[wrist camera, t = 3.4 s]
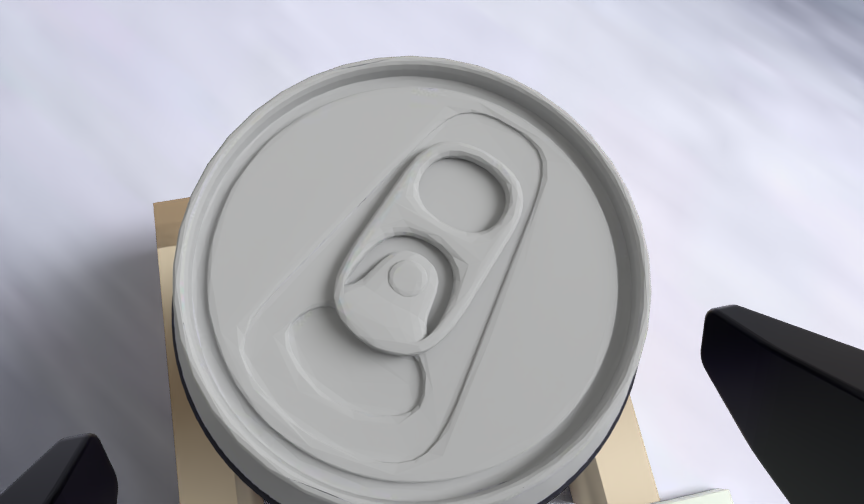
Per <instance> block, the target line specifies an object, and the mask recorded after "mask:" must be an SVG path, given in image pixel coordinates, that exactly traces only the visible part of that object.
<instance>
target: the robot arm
mask: <svg viewBox="0 0 864 504" xmlns="http://www.w3.org/2000/svg"><path fill="white" fill-rule="evenodd" d="M701 360H702V363H703V366H704V368H705V370H706V372H707V374H708V375H709V377H710V379H711V381H712V382H713V384H714V386H715V387H716V389H717V391H718V393H719V394H720V396H721V398H722V400H723V401H724V403H725V405H726V407H727V408H728V410H729V412H730V414H731V415H732V417H733V419H734V421H735V422H736V424H737V426H738V428H739V429H740V431H741V433H742V435H743V436H744V438H745V440H746V441H747V443H748V444H749V446H750V448H751V449H752V451H753V452H754V454H755V455H756V457H757V458H758V460H759V461H760V462H761V464H762V465H763V467H764V468H765V469H766V471H767V472H768V474H769V475H770V476H771V478H772V479H773V481H774V482H775V483H776V485H777V486H778V487H779V489H780V490H781V492H782V493H783V494H784V496H785V497H786V499H787V500H788V501H789V503H790V504H864V350H861V349H858V348H855V347H852V346H850V345H847V344H844V343H841V342H838V341H836V340H833V339H830V338H827V337H825V336H822V335H819V334H816V333H813V332H811V331H808V330H805V329H802V328H799V327H797V326H794V325H791V324H788V323H786V322H783V321H780V320H777V319H774V318H772V317H769V316H766V315H763V314H760V313H758V312H755V311H752V310H749V309H747V308H744V307H741V306H738V305H727V306H722V307H717V308H713V309H711V310H709V311H708V312H707V314H706V316H705V321H704V329H703V337H702V344H701ZM117 496H118V482H117V477H116V474H115V471H114V469H113V467H112V465H111V463H110V461H109V459H108V457H107V454H106V452H105V450H104V448H103V446H102V444H101V442H100V440H99V438H98V437H97V436H96V435H95V434H92V433H87V434H82V435H77V436H72V437H67V438H63V439H61V440H60V441H58V442H57V443H56V444H55V445H54V446H53V447H52V448H51V449H49V450H48V451H47V452H46V453H45V454H44V455H43V456H42V457H41V458H40V459H39V460H38V461H37V462H35V463H34V464H33V465H32V466H31V467H30V468H29V469H28V470H27V471H26V472H25V473H24V474H23V475H21V476H20V477H19V478H18V479H17V480H16V481H15V482H14V483H13V484H12V485H11V486H10V487H8V488H7V489H6V490H5V491H4V492H3V493H2V494H1V495H0V504H117Z"/></svg>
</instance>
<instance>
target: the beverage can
mask: <svg viewBox="0 0 864 504" xmlns="http://www.w3.org/2000/svg"><path fill="white" fill-rule="evenodd" d="M650 302H651V280H650V264H649V255H648V251H647V246H646V242H645V237H644V233H643V228H642V224H641V221H640V219H639V216H638V213H637V211H636V208H635V206H634V203H633V201H632V198H631V196H630V193H629V191H628V189H627V187H626V186H625V184H624V182H623V180H622V179H621V177H620V175H619V173H618V172H617V170H616V168H615V166H614V165H613V163H612V161H611V160H610V159H609V158H608V156H607V155H606V154H605V153H604V151H603V150H602V149H601V147H600V146H599V145H598V144H597V142H596V141H595V140H594V139H593V137H592V136H591V135H590V134H589V133H588V132H587V131H586V130H585V129H584V128H583V127H582V126H581V125H580V124H578V123H577V122H576V121H575V120H574V119H573V118H572V117H571V116H570V115H569V114H568V113H567V112H566V111H564V110H563V109H562V108H560V107H559V106H557V105H556V104H554V103H553V102H552V101H550V100H549V99H547V98H546V97H545V96H543V95H542V94H540V93H539V92H537V91H535V90H533V89H532V88H530V87H528V86H526V85H524V84H522V83H520V82H518V81H516V80H514V79H512V78H510V77H508V76H506V75H503V74H500V73H497V72H494V71H492V70H489V69H486V68H483V67H480V66H478V65H473V64H469V63H464V62H459V61H454V60H450V59H445V58H432V57H419V56H401V57H385V58H375V59H370V60H365V61H360V62H355V63H350V64H345V65H342V66H339V67H336V68H333V69H330V70H328V71H325V72H322V73H319V74H316V75H313V76H311V77H309V78H307V79H305V80H303V81H301V82H299V83H297V84H296V85H294V86H292V87H290V88H288V89H286V90H284V91H282V92H281V93H279V94H278V95H276V96H275V97H274V98H272V99H271V100H269V101H268V102H267V103H265V104H264V105H263V106H261V107H260V108H258V109H257V110H256V111H254V112H253V113H252V114H251V115H250V116H249V117H248V118H247V119H246V120H245V121H244V122H243V123H242V124H241V125H240V126H239V127H238V128H237V129H236V130H235V131H234V132H233V133H231V134H230V135H229V136H228V138H227V139H226V140H225V142H224V143H223V144H222V146H221V147H220V148H219V150H218V151H217V152H216V154H215V155H214V156H213V158H212V159H211V160H210V162H209V163H208V164H207V166H206V168H205V170H204V172H203V174H202V176H201V177H200V179H199V181H198V183H197V185H196V187H195V189H194V191H193V192H192V194H191V196H190V199H189V202H188V205H187V208H186V211H185V214H184V217H183V220H182V223H181V226H180V229H179V233H178V239H177V245H176V251H175V257H174V263H173V295H172V336H173V346H174V352H175V358H176V364H177V367H178V371H179V375H180V379H181V383H182V385H183V388H184V391H185V394H186V397H187V400H188V402H189V404H190V406H191V409H192V411H193V413H194V415H195V418H196V419H197V421H198V423H199V425H200V427H201V428H202V430H203V432H204V434H205V435H206V437H207V438H208V440H209V441H210V443H211V444H212V446H213V447H214V449H215V450H216V452H217V453H218V454H219V455H220V457H221V458H222V459H223V460H224V462H225V463H226V464H227V465H228V467H229V468H230V469H231V470H232V471H233V472H234V473H235V474H236V475H237V476H238V477H239V478H240V479H241V480H242V481H243V482H244V483H245V484H246V485H247V486H248V487H250V488H251V489H252V490H253V491H254V492H255V493H256V494H258V495H259V496H260V497H262V498H263V499H264V500H266V501H267V502H268V503H270V504H547V503H548V502H549V501H551V500H552V499H553V498H555V497H556V496H557V495H559V494H560V493H561V492H562V491H563V490H564V489H565V488H567V487H568V486H569V485H570V484H571V483H572V482H573V481H574V480H575V479H576V478H577V477H578V476H579V475H580V474H581V473H582V472H583V471H584V470H585V469H586V468H587V466H588V465H589V464H590V463H591V461H592V460H593V459H594V458H595V456H596V455H597V454H598V453H599V451H600V450H601V448H602V447H603V445H604V444H605V442H606V441H607V439H608V438H609V436H610V435H611V433H612V431H613V429H614V428H615V426H616V424H617V422H618V420H619V418H620V416H621V414H622V412H623V409H624V407H625V405H626V403H627V400H628V397H629V395H630V392H631V389H632V386H633V383H634V379H635V375H636V371H637V368H638V364H639V361H640V357H641V354H642V350H643V346H644V342H645V339H646V334H647V330H648V322H649V312H650Z"/></svg>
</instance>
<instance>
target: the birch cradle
mask: <svg viewBox="0 0 864 504" xmlns="http://www.w3.org/2000/svg"><path fill="white" fill-rule="evenodd" d="M189 199H190V197H188V198H182V199H176V200H170V201H163V202H157V203H153V206H154V217H155V229H156V240H157V251H158V263H159V274H160V285H161V297H162V308H163V319H164V331H165V342H166V353H167V365H168V376H169V387H170V399H171V410H172V421H173V432H174V444H175V455H176V466H177V478H178V489H179V500H180V504H264V500H263V498H262V497H260V496H259V495H258V494H256V493H255V492H254V491H253V490H252V489H251V488H250V487H248V486H247V485H246V484H245V483H244V482H243V481H242V480H241V479H240V478H239V477H238V476H237V475H236V474H235V473H234V472H233V471H232V470H231V469H230V468H229V467H228V465H227V464H226V463H225V462H224V460H223V459H222V458H221V457H220V455H219V454H218V453H217V452H216V450H215V449H214V447H213V446H212V444H211V443H210V441H209V440H208V438H207V437H206V435H205V434H204V432H203V430H202V428H201V427H200V425H199V423H198V421H197V419H196V418H195V415H194V413H193V411H192V409H191V406H190V404H189V402H188V400H187V397H186V394H185V391H184V388H183V385H182V383H181V379H180V375H179V371H178V367H177V364H176V358H175V352H174V346H173V336H172V295H173V263H174V257H175V251H176V245H177V239H178V233H179V229H180V226H181V223H182V220H183V217H184V214H185V211H186V208H187V205H188V202H189ZM569 487H570V491H571V495H572V499H573V503H574V504H649V503H653V502H657V501H660V498H659V495H658V491H657V488H656V484H655V481H654V477H653V474H652V470H651V467H650V463H649V460H648V456H647V453H646V449H645V446H644V442H643V439H642V436H641V432H640V429H639V425H638V422H637V418H636V415H635V411H634V408H633V404H632V401H631V397H630V395H629V397H628V400H627V403H626V405H625V407H624V409H623V412H622V414H621V416H620V418H619V420H618V422H617V424H616V426H615V428H614V429H613V431H612V433H611V435H610V436H609V438H608V439H607V441H606V442H605V444H604V445H603V447H602V448H601V450H600V451H599V453H598V454H597V455H596V456H595V458H594V459H593V460H592V461H591V463H590V464H589V465H588V466H587V468H586V469H585V470H584V471H583V472H582V473H581V474H580V475H579V476H578V477H577V478H576V479H575V480H574V481H573V482H572V483H571V484H570V485H569Z"/></svg>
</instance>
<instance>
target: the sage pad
mask: <svg viewBox="0 0 864 504" xmlns="http://www.w3.org/2000/svg"><path fill="white" fill-rule="evenodd" d="M654 504H733V501H732V497H731V494H730V491H729V489H714V490H709V491H705V492H701V493H697V494H692V495H688V496H684V497H680V498H675V499H671V500H667V501H663V502H659V503H654Z"/></svg>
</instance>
